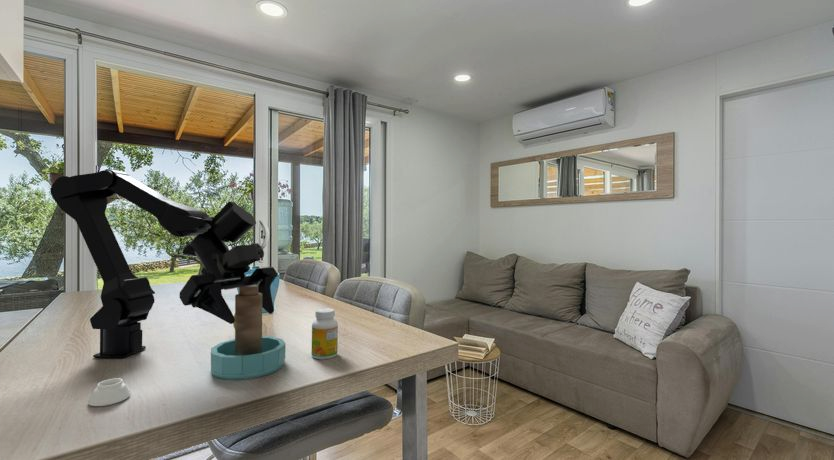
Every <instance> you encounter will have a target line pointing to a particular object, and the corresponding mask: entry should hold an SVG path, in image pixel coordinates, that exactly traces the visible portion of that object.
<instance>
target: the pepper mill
mask: <svg viewBox="0 0 834 460" xmlns="http://www.w3.org/2000/svg"><path fill="white" fill-rule="evenodd" d="M238 290H239V291H238V293H237V294H235V295H234V300H235V301H234V302H235V303H234V305H235V307H234V308H235V309H234V314H235V328H234V339H235V356H244V355H252V354H259V353H262V336H263V307H262V293H258V286H242V287H239V288H238Z"/></svg>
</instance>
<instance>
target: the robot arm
mask: <svg viewBox="0 0 834 460" xmlns="http://www.w3.org/2000/svg"><path fill="white" fill-rule="evenodd" d="M49 190H50V191H49V192H50V195H51V198H52V199H53V201H54V202H55V203H56V205H57V207H58V208H59V209H60V211H62V212H64V214H66V215H67V216H69V217H70V218H72V219H73V220H74V221H75V223H76V225H77V227H78V229H79V231H80V233H81V235H82V237H83V240H84V242H85V245H86V247H87V249H88V251H89V253H90V255H91V258H92V260H93V262H94V264H95V266H96V269H97V271H98V273H99V275H100V277H101V280H102V281H103V285H102V289H101V292H100V300H101V304H102V307H100V308H99V310H97V311H96V312H95V313H94V314H93V315H92V316H91V317H90V318H89V322H90V325H91V328H92V329H93V330H99V352H98V353H95V354H93V356H92V357H93V359H95V358H96V359H97V358H99V359H102V358H103V359H104V358H105V359H124V358H127V357H129V356H132V355H134V354H136V353H138V352H140V351H143V350H146V348H147V347H146V345H143V329H142V328H141V325H142V324H141V322H142V321H146V320H147V318H148V317H149V313H150V311H152V308H153V306H154V304H155V297H154V295H155V294H156V292H155V290H153V288H152V287H151V283H150V280H149V278H148V277H147V276H143V277H138V276H137V275H135V274H133V272H132V270H131V268H130V266H129V264H128V262H127V260H126V257H125V254H124V253H123V251H122V248H121V247H120V243H118V242H119V241H118V239H117V238H116V236H115V234H114V231H113V229H112V226H111V224H110V222H109V221H108V217H107V216H106V211H107V207H108V203H109V201H108V198H112V197H115V196H116V195H118V196H119V197H122V198H123V199H125V200H127V201H128V202H130V203H131V204H133V205H135V206H137V207H138V208H140V209H142V210H143V211H145V212H147V213H149V214H150V215H152V216H153V217H154V218H156V219H157V221H158V223H159V224H160V225H159V226H161V227H162V228H163V229H165V231H167V232H168V233H169V234H171V236H173V237H176V238H188V237H193V239H192V240H191V241H186V244H185V246H184V248H183V250H182V254H183V255H185V256H187V255H188V256H192V257H197V258H198V260H199V262H200V264H201V265H202V266H203V268H202V269H201V270H200V274H192V275H191V276H190V277H189V278H188V280H187V281H186V283H185V284H184V286H183V287H182V289H181V290H180V291H179V299H180V301H181V302H182V305H184V306H185V307H187V306H191V307H192V308H198V309H200V310H203V311H204V312H207V313H209V314H212V315H214V316H215V317H217V318H219V319H221V320H222V321H225V323H228V324H230V325H232V324H233V323H234V322H235V318H234V314H233V311H232V309H230V307H229V304H228V303H227V301H226V300H225V298H224V296H223V293H222V290H224V291H226V290H233V289H239V287H242V286H258V293H262V309H264V311H266V312H267V313H268V314H270V315H271V314H273V312H275V309H274V302H273V297H272V291H271V287H272V284H273V282H274V281H275V280H276V278H277V277H278V272H277V270H276V269H275V268H274V267H273V266H264V267H257V268H255V270H254V271H253V272H252V274H251V275H248V276H246V275H245V273H248V272H249V271H250V269H251V267H250V265H252V264H254V263H255V262H259V261H260V260H261V259H262V258H263V257H264V256H265V252H264V249H263V247H262V246H261V245H260V244H259V243H251V244H241V245H236V246H234V247H233V248H231V249H229V247H228V246H227V244H226V243H237V242H238V241H240V240H241V238H242V237H244V236H245V235H246V234H247V233H248V232H249V231H250V230H251V229H252V228H253V227H255V226H256V224H257V222H256V218H255V217H254V215H252V214H251V213H250V212H248V211H247V209H245V208H243V207H242V206H241V205H238V204H237V203H236V202H235V201H228V202H227V203H226V204H224V206H223V208H222V209H221V210H219V211H218V212H217V213H216V214H215V215H214V216H209V215H208V213H206V212H205V211H203V210H201V209H198V208H195V207H192V206H189V205H186V204H181V203H179V202H176V201H173V200H171V199H169V198H168V197H166V196H164V195H162V193H161V194H160V193H159V192H158V191H155V190H154V189H153V188H150V187H149V186H147V185H145V184H144V183H142V182H140V181H138V180H137V179H135V178H133V177H132V176H131V175H129V174H128V173H127V172H124V171H120V170H114V169H105V170H101V171H97V172H92V173H84V174H77V175H72V176H68V175H62V176H59V177H58V178H56V179H55V181H54V182H53V183H52V185H51V187H50V189H49Z"/></svg>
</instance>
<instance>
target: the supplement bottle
mask: <svg viewBox="0 0 834 460" xmlns="http://www.w3.org/2000/svg"><path fill="white" fill-rule="evenodd" d="M335 313H336V311H335V309H334V308H328V307H325V308H319V309H316V310H315V318H316V319H315V320H313V321H312V323H311V357H312V358H313V359H316V360H330V359H333V358H335V357H336V356H337V355H338V347H339V346H338V345H339V344H338V342H339V341H338V338H339V329H338V328H339V327H338V326H339V323H338V320H336V319H335V318H334V317H335V315H336V314H335Z"/></svg>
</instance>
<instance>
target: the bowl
mask: <svg viewBox="0 0 834 460" xmlns="http://www.w3.org/2000/svg"><path fill="white" fill-rule="evenodd" d="M285 360H286V342H285V341H284V340H283V338H279V337H276V336H275V337H274V336H271V335H270V336H269V335H268V336H263V335H262V353H259V354H252V355H244V356H235V338H233V339H229V340H225V341H223V342H219V343H218V344H216V345H214V346H213V347H210V374H211V376H213V377H214V378H217V379H221V380H228V381H239V380H240V381H241V380H250V379H255V378H261V377H264V376H268V375H270V374H273V373H275V372H278V371H279V370H281V369H282V368H283V367H284V365H285Z"/></svg>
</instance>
